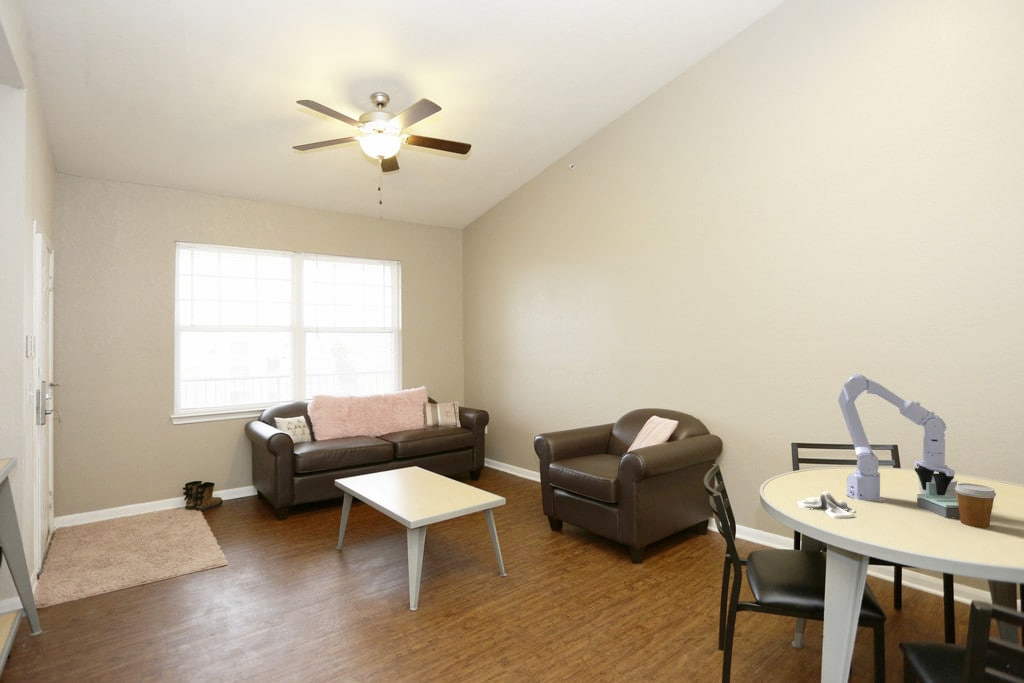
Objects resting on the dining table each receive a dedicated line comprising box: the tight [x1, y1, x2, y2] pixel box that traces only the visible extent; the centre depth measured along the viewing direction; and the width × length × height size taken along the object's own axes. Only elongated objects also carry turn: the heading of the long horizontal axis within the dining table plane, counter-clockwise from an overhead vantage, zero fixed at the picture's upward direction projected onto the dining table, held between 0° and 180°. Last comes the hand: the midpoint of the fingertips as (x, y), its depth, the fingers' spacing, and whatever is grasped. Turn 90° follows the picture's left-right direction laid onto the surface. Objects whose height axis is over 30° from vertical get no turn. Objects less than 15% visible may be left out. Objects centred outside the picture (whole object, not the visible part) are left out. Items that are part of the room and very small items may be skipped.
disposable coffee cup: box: [955, 482, 997, 529], centre depth 161 cm, size 10×10×12 cm
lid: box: [916, 482, 959, 508], centre depth 173 cm, size 12×10×5 cm
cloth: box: [796, 491, 857, 519], centre depth 178 cm, size 22×19×6 cm
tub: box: [916, 496, 960, 519], centre depth 173 cm, size 12×10×4 cm
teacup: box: [917, 475, 958, 497], centre depth 188 cm, size 14×11×8 cm
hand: (933, 492), depth 178 cm, fingers open, 6 cm apart
